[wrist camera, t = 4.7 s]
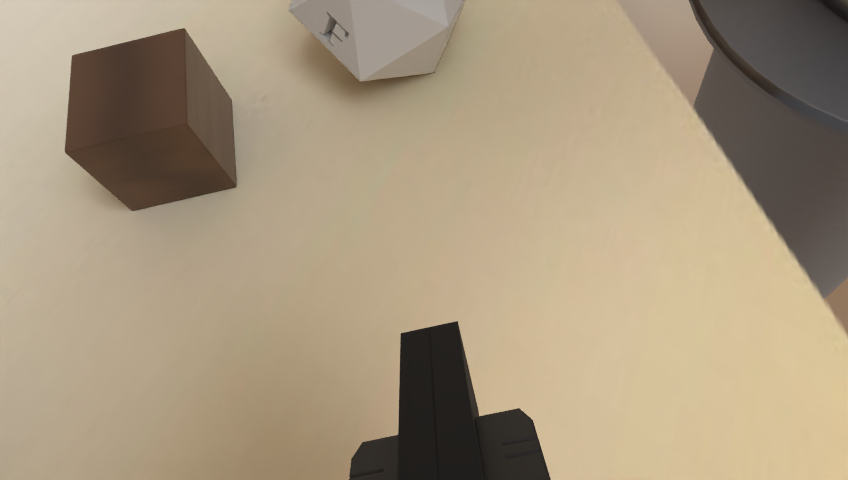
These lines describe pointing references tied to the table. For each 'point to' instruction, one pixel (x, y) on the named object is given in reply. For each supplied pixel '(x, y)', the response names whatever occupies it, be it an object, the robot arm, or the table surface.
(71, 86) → the walnut block
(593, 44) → the table surface
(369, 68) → the die
